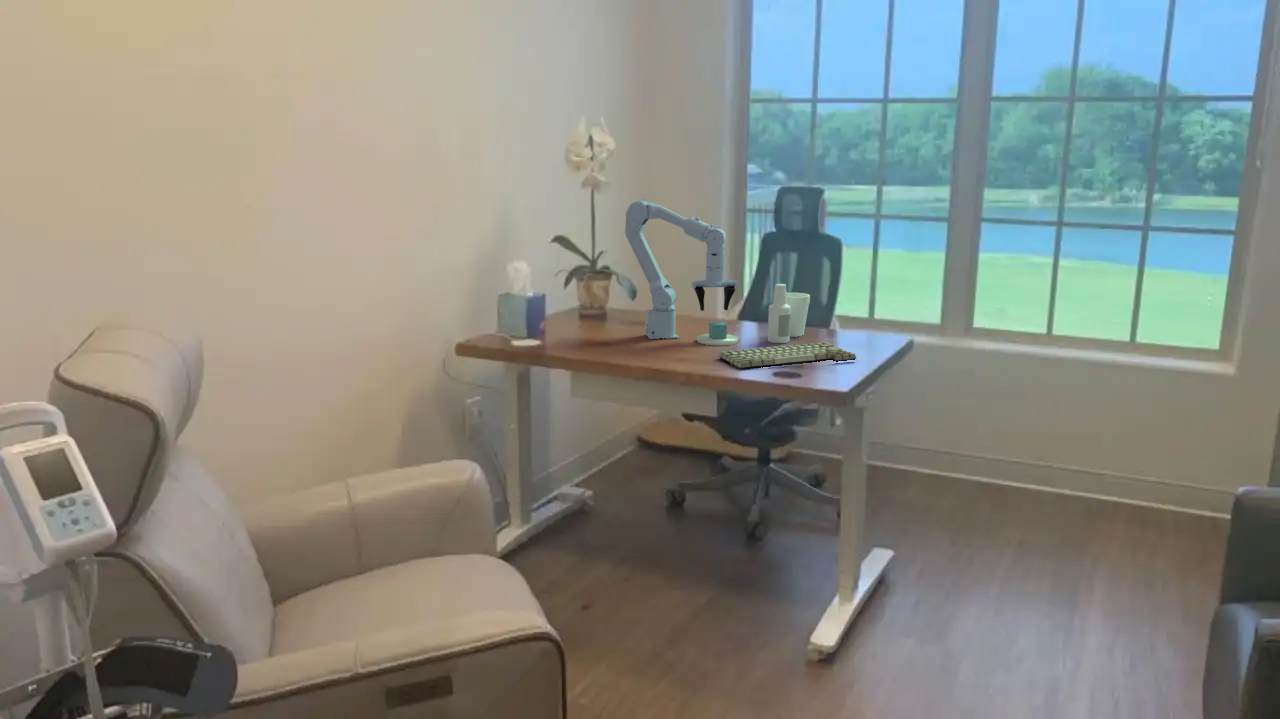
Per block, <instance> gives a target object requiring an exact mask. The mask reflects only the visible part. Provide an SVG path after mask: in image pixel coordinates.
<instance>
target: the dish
mask: <svg viewBox="0 0 1280 719" xmlns="http://www.w3.org/2000/svg"><path fill="white" fill-rule="evenodd" d="M696 342H697V343H699V344H700V343H701V345H704V344H705V345H706V346H712V347H717V346H718V347H725V346H726V345H727V346H733V345H737V344H738V343H739V337H738V336H737V335H734V334H729V333H727V337H726V339H711V338H710V337H709V333H702V334H699V335H697V336H696ZM727 346H726V347H727Z"/></svg>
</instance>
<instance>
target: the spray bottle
mask: <svg viewBox="0 0 1280 719" xmlns="http://www.w3.org/2000/svg"><path fill="white" fill-rule="evenodd" d="M786 287H787V284H785V283H776V284H775V285H774V290H773V301H772V302H773V303H772V304H769V306H768V321H767V322H768V323H767V341H768V342H769V343H771V344H786V343H789V342H790V341H791V339H790V338H791V336H790V317H791V307H790V306H789V305H788V304H786V303H787V298H786V295H787V293H788V291H787V288H786Z"/></svg>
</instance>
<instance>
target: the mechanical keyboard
mask: <svg viewBox="0 0 1280 719" xmlns="http://www.w3.org/2000/svg"><path fill="white" fill-rule="evenodd" d="M718 357H719V358H718V359H719V361H720V362H722V363H724V364H725V365H728V366H731V367H734V368H736V369H739V370H751V369H750V368H761V367H762V368H763V367H771V366H782V365H792V364H803V363H812V362H817V361H818V362H820V361H826V360H833V361H836V362H838V361H847V360H855V359H856V360H857V356H856V352H855V353H853V352H851V351H848V350H846V349H842V348H841V347H838V346H836V345H835V346H834V344H833V343H829V342H827V341H824V342H815V343H813V342H812V343H808V344H807V343H803V344H793V345H792V344H790V345H779V346H777V345H775V346H772V347H771V346H767V347H766V346H765V347H757V348H749V349H748V348H743V349H735V350H732V349H731V350H727V351H726V350H720V352H719V355H718Z"/></svg>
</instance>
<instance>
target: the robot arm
mask: <svg viewBox="0 0 1280 719" xmlns="http://www.w3.org/2000/svg"><path fill="white" fill-rule="evenodd" d="M656 219H659V220H662V221H665V222H667V223H669V224H671V225H675V226H677V227H678V228H681V229H682V230H683V232H684V234H685V235H686V236H689V237H691V238H693V239H695V240H698V241H700V242H701V243H705V245H706V253H705V254H706V255H705V279H704V280H703V279H701V280H691V286H690V288H692V289H694V292H695V294H696V296H697V300H698V304H699V309H700V311H701V312H705V294H706V290H705V288H723V294H724V296H723V297H724V298H723V299H724V301H723V310H725V311H728V310H729V305H730V302H731V299H732V297H733V295H734V293H735V291H736V288H738V286H739V281H738V280H736V279H735V280H734V279H725V256H726V255H725V254H726V253H725V244H724V243H725V242H726V240H727V234H726V232H725V231H724V229H722V228H721V227H719V226H715V225H714V224H712V223H711V224H709V223H707V222H704V221H702V220H701V217H699V216H696V217H694V216H691V217H689V218H686V217H685V216H683V215H680V214H678V213H677V212H675V211H673V210H670V209H668V208H667V207H665V206H663V205H661V204H659V203H656V202H653V201H652V202H651V201H649V200H648V199H640V200H638V201H634V202H631V204H629V206H628V208H627V210H626V212H625V230H624V234H625V237H626V239H627V241H628V243H629V245H630V247H631V249H632V252H633V253H634V255H635V258H636V260H637V262H638V263H639V265H640V268H641V269H642V272H643V274H644V276H645V278H646V281H647V282H648V284H649V292H650V294H651V299H652V300H651V301H652V305H653V306H652V309H646V312H645V333H644V334H645V336H646V337H648V339H649V340H657V339H658V340H660V338H662V339H661V340H663V339H664V338H665V339H679V338H680V336H679V335H678V334H677V331H676V327H677V326H676V323H677V322H676V319H677V318H676V317H677V316H676V315H677V314H676V313H677V306H675V303H676V301H677V298H678V295H677V291H676V290H675V289H674V287H672V286H671V285H670V284H669V281H668V280H667V279H666V278H665V277H664V274H663V273H662V271H661V269H660V267H659V265H658V262H657V261H656V258H655V257H654V254H653V252H652V250H651V248H650V246H649V244H648V242H647V239H646V238H645V236H644V234H643V232H644V229H645V227H646V223H647V222H648V221H650V220H656ZM665 339H664V340H665Z"/></svg>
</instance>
